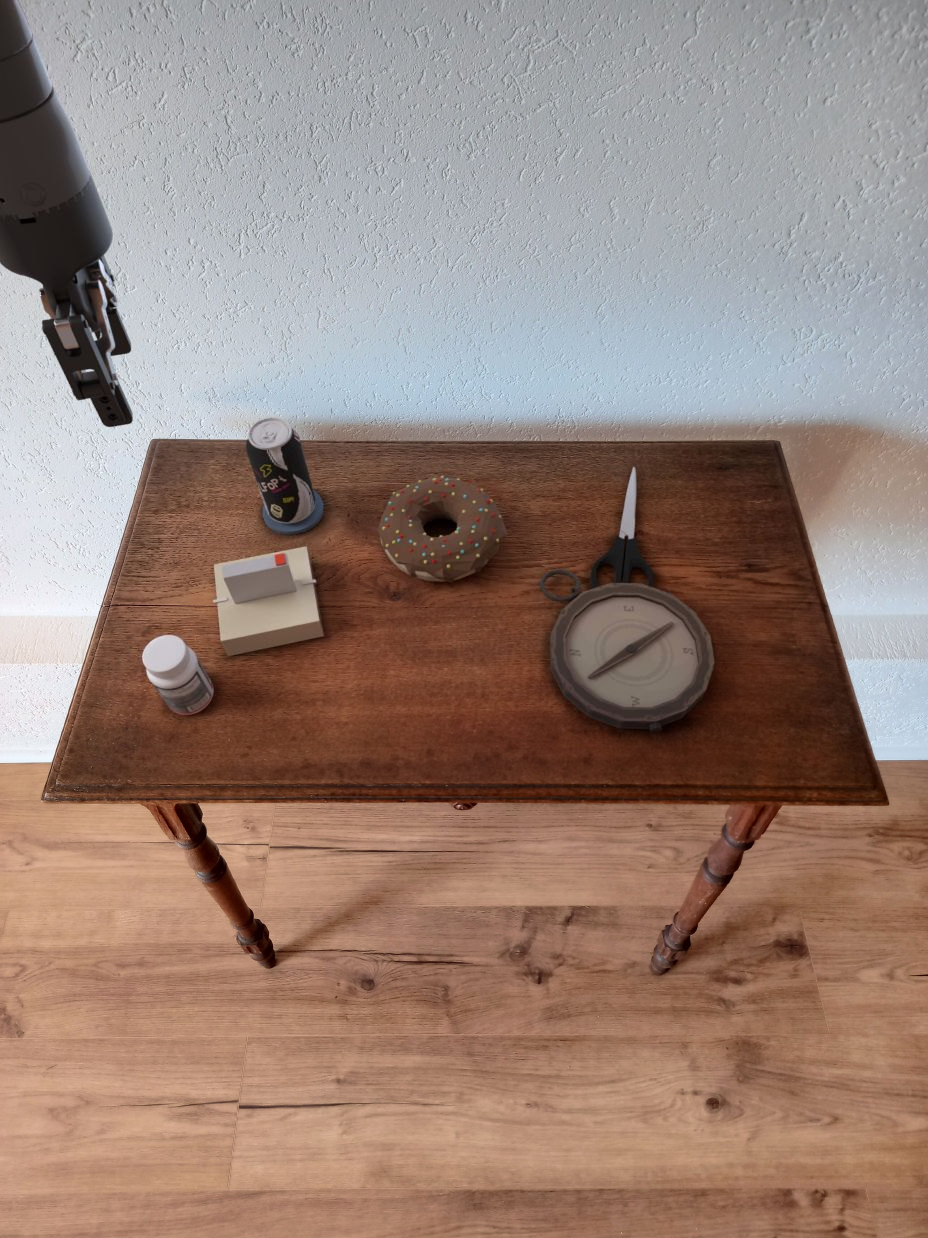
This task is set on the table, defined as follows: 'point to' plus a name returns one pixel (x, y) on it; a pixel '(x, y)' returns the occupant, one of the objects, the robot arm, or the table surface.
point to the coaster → (298, 526)
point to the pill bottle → (177, 675)
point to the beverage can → (280, 470)
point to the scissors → (617, 550)
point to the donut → (445, 553)
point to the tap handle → (259, 578)
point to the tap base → (270, 610)
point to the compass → (629, 654)
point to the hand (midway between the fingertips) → (119, 386)
